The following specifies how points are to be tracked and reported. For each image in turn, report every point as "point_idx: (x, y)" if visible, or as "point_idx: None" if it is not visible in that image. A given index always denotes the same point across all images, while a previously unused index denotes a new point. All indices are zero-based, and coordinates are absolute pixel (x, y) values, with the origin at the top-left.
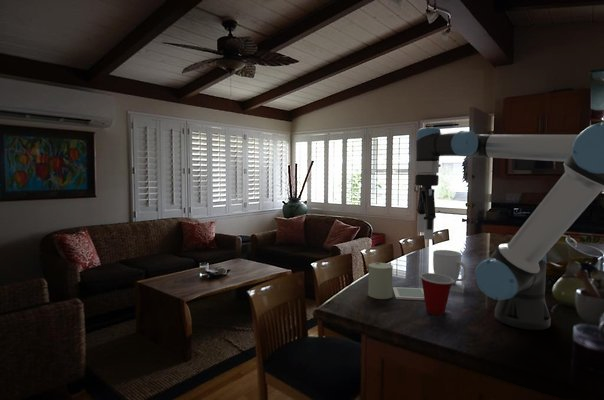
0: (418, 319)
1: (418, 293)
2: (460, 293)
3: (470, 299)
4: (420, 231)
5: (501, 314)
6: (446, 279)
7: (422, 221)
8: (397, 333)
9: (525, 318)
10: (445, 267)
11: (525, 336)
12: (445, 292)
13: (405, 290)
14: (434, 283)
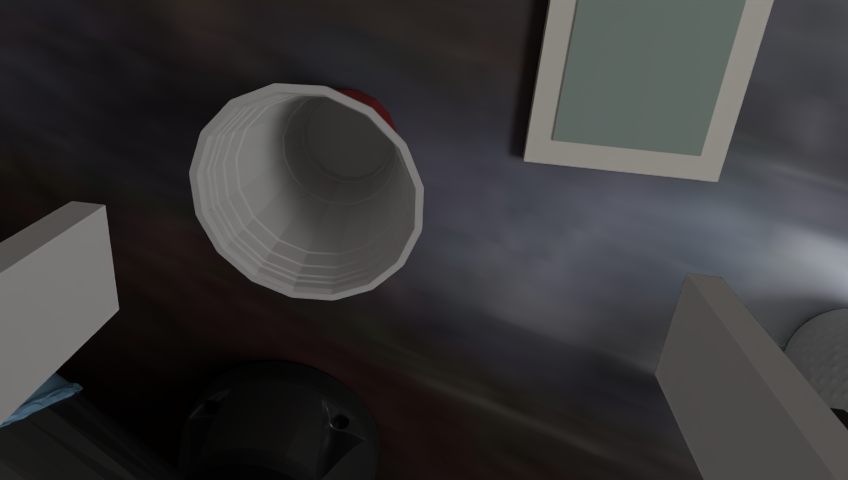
0: (227, 9)
1: (615, 118)
2: (632, 351)
3: (535, 361)
4: (680, 317)
5: (241, 384)
6: (367, 269)
7: (742, 463)
8: None
9: (181, 439)
10: (833, 392)
11: (132, 381)
12: (255, 205)
13: (686, 47)
14: (209, 151)
